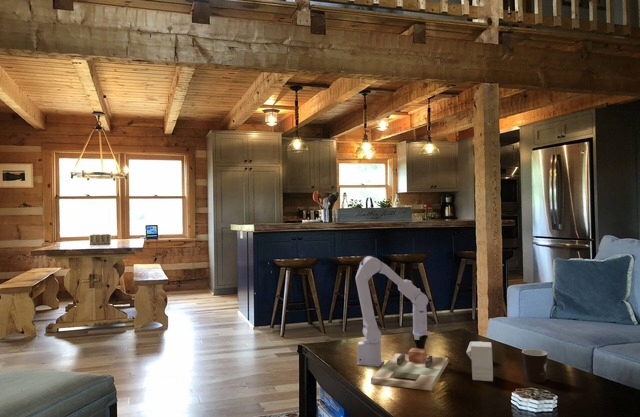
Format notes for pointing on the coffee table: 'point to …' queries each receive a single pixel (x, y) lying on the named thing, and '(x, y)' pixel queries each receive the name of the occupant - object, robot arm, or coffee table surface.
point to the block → (417, 355)
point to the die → (470, 350)
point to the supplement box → (482, 361)
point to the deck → (410, 372)
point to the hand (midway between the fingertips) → (420, 353)
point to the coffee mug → (535, 365)
